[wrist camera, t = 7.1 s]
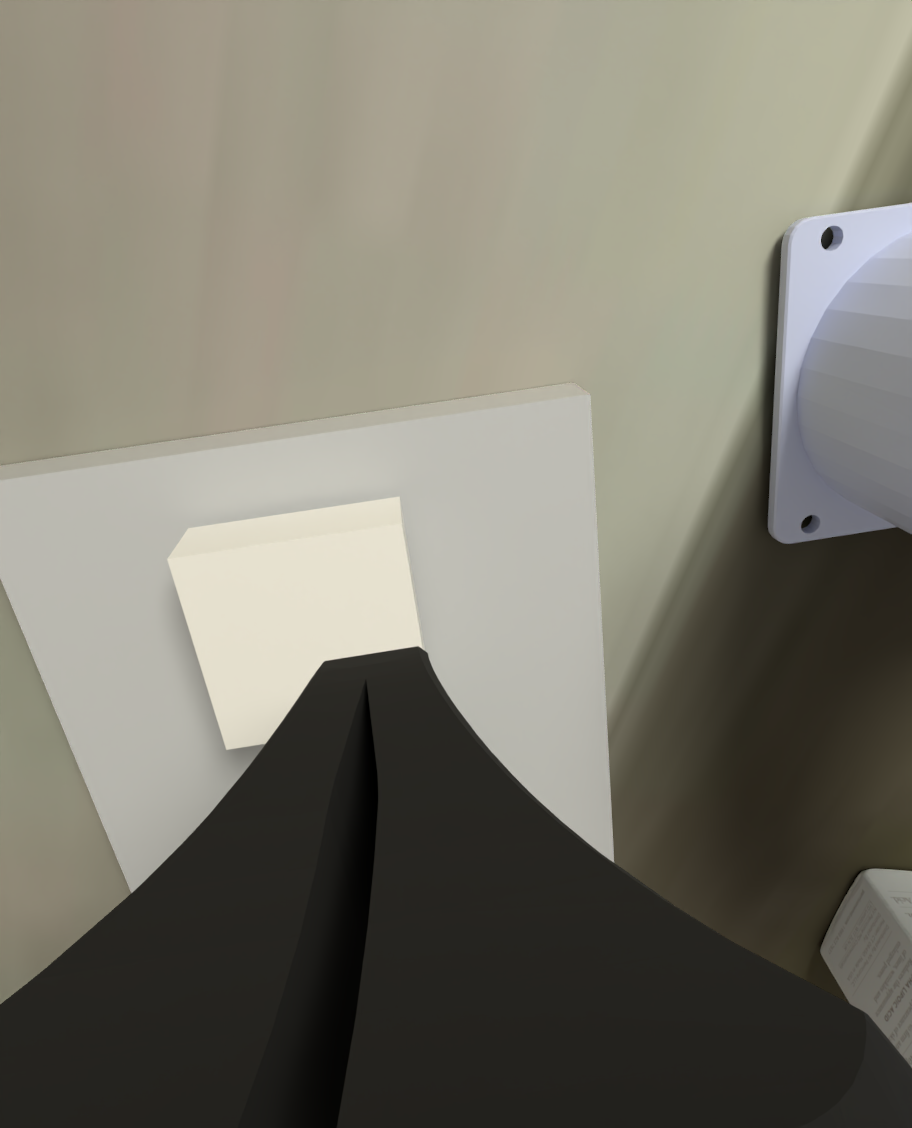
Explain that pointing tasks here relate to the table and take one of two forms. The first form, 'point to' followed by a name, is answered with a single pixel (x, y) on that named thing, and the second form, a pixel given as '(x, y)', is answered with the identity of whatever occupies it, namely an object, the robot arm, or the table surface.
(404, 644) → the ivory key
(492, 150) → the table surface
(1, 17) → the table surface
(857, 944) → the skincare box
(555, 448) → the keyboard base
